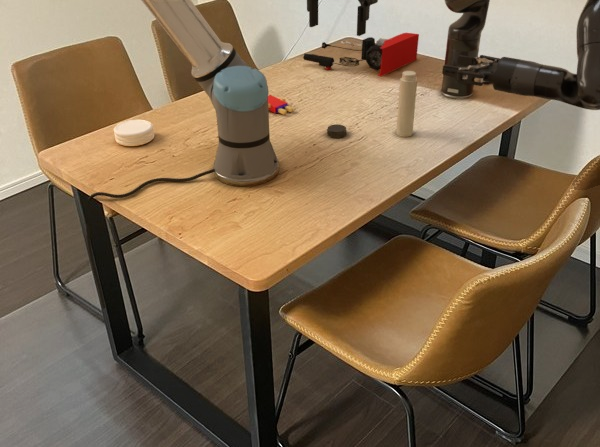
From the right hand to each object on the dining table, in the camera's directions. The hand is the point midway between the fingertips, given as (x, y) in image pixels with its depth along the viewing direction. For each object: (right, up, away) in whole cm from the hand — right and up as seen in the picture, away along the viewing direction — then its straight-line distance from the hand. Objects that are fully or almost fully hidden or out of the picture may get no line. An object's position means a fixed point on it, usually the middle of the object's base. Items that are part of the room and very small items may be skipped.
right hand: (450, 64), depth 147 cm
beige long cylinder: (-8, -14, +16) cm, 23 cm away
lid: (-26, -13, +15) cm, 33 cm away
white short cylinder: (-79, -16, +15) cm, 82 cm away
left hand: (-27, +9, +2) cm, 28 cm away
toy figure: (-43, -5, +32) cm, 54 cm away
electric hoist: (-15, +18, +66) cm, 70 cm away
